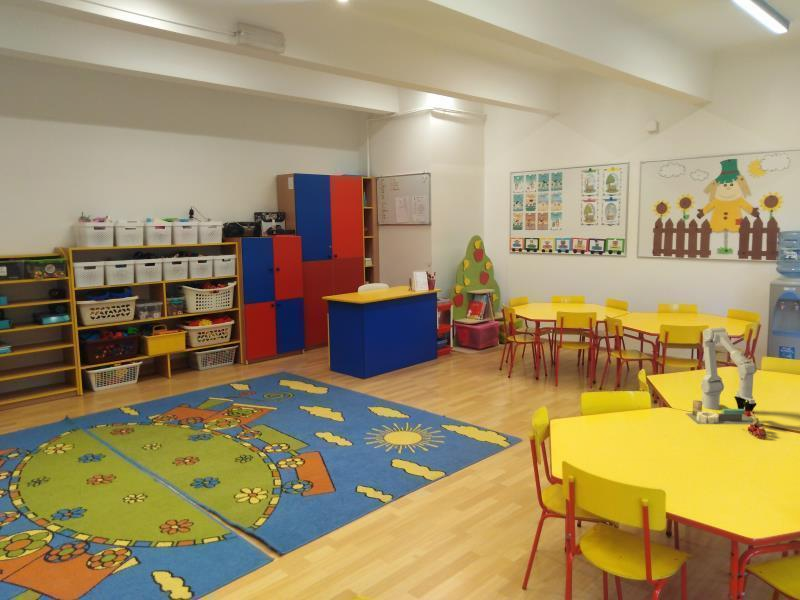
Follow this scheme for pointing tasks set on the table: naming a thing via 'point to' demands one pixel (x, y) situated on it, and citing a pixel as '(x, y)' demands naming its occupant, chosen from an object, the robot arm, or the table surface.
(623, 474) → the table surface
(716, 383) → the robot arm
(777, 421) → the table surface
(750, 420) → the board
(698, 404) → the peg
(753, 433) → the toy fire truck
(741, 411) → the bar
